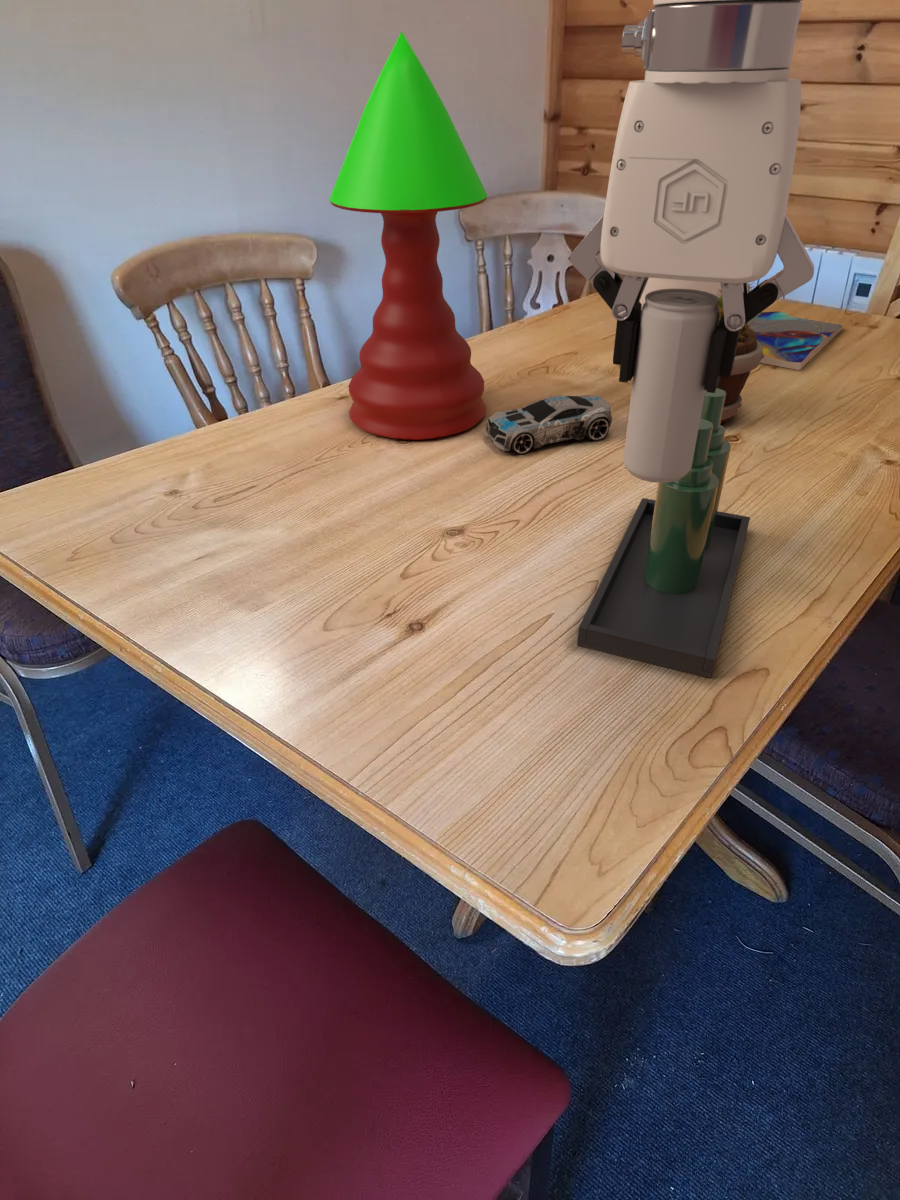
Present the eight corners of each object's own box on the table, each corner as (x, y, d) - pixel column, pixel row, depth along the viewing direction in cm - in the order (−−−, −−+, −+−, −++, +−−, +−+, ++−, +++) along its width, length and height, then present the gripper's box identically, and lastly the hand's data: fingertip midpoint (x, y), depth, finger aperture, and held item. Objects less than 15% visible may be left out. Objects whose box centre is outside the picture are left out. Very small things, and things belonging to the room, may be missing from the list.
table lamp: (378, 453, 102) (346, 30, 76) (331, 403, 117) (290, 33, 91) (510, 425, 109) (522, 27, 83) (450, 381, 124) (444, 31, 97)
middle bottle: (702, 571, 77) (734, 416, 68) (693, 599, 74) (725, 439, 64) (649, 560, 79) (674, 408, 70) (638, 587, 75) (662, 430, 66)
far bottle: (714, 532, 83) (744, 386, 74) (706, 557, 79) (738, 405, 70) (665, 523, 85) (689, 379, 76) (655, 547, 81) (679, 397, 72)
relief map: (757, 317, 149) (760, 306, 148) (841, 330, 142) (844, 319, 140) (708, 353, 133) (710, 341, 131) (799, 370, 125) (802, 357, 124)
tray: (746, 533, 84) (750, 516, 83) (710, 678, 65) (715, 659, 64) (639, 514, 88) (642, 497, 87) (576, 645, 69) (578, 626, 68)
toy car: (479, 437, 106) (479, 402, 103) (588, 417, 111) (591, 383, 108) (501, 459, 100) (502, 422, 97) (616, 437, 105) (620, 402, 102)
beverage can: (642, 450, 59) (664, 284, 52) (702, 467, 56) (734, 295, 49) (609, 473, 56) (629, 299, 49) (671, 492, 53) (701, 312, 46)
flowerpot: (618, 410, 113) (635, 264, 101) (693, 388, 119) (717, 248, 107) (693, 445, 103) (722, 287, 91) (770, 419, 109) (806, 268, 97)
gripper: (545, 53, 42) (531, 384, 52) (898, 46, 36) (802, 418, 47) (582, 51, 47) (562, 350, 58) (892, 45, 42) (807, 377, 52)
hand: (670, 377), depth 52 cm, fingers closed on beverage can, 4 cm apart
